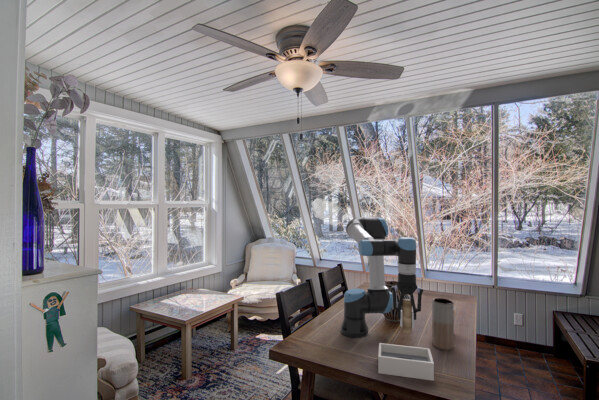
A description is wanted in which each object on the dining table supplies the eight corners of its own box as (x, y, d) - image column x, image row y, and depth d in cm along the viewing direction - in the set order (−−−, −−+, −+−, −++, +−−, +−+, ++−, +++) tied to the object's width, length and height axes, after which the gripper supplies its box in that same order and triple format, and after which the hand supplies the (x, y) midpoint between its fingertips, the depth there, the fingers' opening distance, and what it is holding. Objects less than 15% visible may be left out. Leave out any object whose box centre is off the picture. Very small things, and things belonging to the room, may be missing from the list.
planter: (432, 348, 160) (432, 302, 160) (432, 340, 170) (431, 297, 170) (454, 351, 157) (454, 304, 157) (452, 343, 166) (452, 299, 166)
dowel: (401, 330, 143) (401, 298, 143) (411, 330, 142) (411, 299, 142) (402, 333, 139) (402, 301, 139) (412, 334, 138) (412, 302, 138)
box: (378, 373, 137) (378, 356, 137) (379, 357, 150) (379, 342, 150) (433, 380, 131) (433, 363, 131) (429, 364, 144) (429, 348, 144)
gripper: (387, 273, 139) (387, 327, 139) (429, 276, 135) (428, 331, 135) (386, 270, 146) (386, 321, 146) (426, 272, 143) (426, 324, 143)
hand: (406, 326), depth 141 cm, fingers closed on dowel, 4 cm apart
